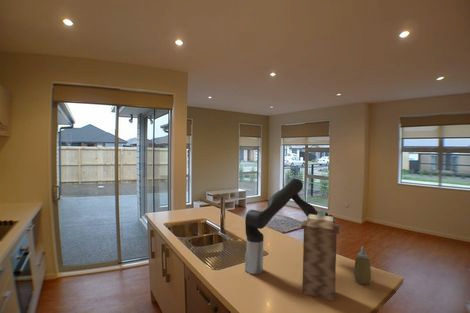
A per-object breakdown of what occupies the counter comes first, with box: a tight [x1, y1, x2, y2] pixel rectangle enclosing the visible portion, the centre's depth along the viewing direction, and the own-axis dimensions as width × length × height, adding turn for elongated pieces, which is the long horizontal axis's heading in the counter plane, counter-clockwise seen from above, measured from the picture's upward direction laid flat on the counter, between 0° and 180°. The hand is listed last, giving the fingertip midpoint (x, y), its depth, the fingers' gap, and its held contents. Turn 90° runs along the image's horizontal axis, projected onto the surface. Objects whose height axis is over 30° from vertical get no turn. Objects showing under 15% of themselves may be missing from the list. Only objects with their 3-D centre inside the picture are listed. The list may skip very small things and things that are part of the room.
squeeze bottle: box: [353, 246, 372, 285], centre depth 123 cm, size 8×8×18 cm
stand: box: [301, 219, 340, 302], centre depth 112 cm, size 16×9×32 cm, turn 68°
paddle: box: [306, 209, 334, 229], centre depth 116 cm, size 11×18×4 cm, turn 158°
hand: (321, 213), depth 120 cm, fingers closed on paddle, 3 cm apart
